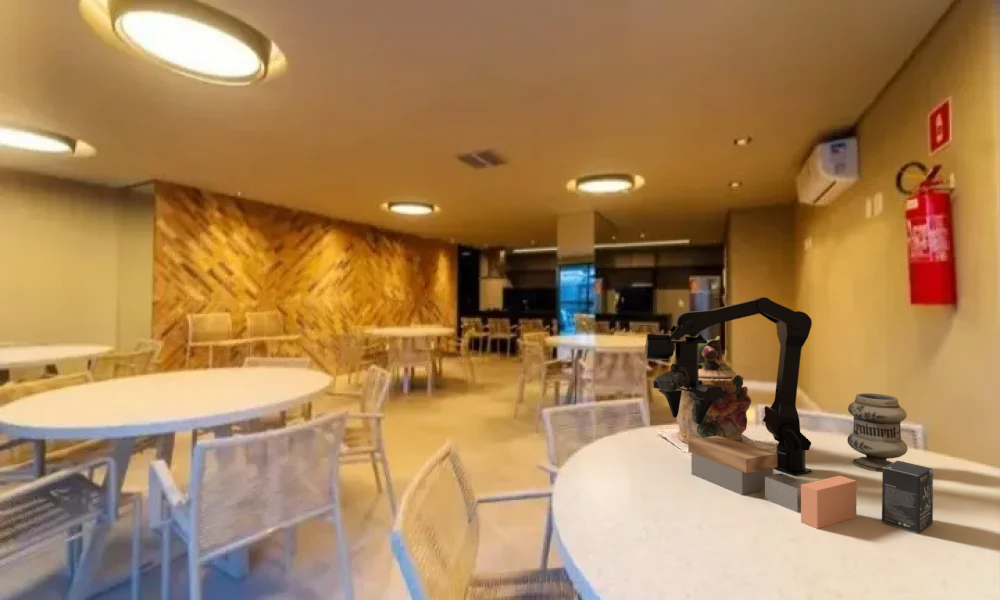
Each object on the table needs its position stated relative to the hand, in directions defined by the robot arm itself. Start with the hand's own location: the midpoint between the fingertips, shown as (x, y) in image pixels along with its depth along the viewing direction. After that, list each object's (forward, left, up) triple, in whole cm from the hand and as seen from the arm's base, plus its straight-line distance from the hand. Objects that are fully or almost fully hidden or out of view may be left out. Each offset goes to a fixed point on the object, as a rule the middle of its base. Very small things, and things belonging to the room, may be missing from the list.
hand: (686, 420), depth 123 cm
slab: (0, +13, -6) cm, 15 cm away
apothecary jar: (-43, +21, -11) cm, 49 cm away
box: (-12, +42, -11) cm, 45 cm away
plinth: (0, +13, -11) cm, 17 cm away
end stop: (0, +35, -11) cm, 37 cm away
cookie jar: (-20, -10, -11) cm, 25 cm away
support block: (0, +27, -11) cm, 30 cm away
